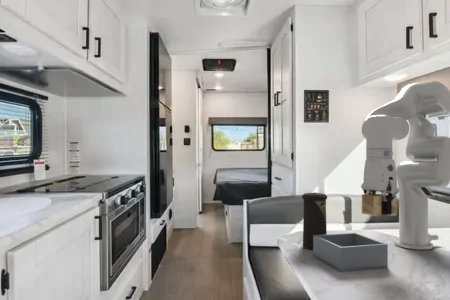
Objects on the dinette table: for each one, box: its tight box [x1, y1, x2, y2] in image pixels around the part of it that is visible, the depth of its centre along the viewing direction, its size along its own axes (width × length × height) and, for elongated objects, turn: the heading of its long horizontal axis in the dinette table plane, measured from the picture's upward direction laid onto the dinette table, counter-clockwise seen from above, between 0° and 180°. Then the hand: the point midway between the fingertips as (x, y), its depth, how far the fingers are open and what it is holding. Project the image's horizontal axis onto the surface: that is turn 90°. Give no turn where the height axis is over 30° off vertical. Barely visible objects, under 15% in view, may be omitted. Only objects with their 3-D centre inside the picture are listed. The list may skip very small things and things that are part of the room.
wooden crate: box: [361, 193, 398, 217], centre depth 110 cm, size 8×6×6 cm
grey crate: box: [312, 232, 389, 273], centre depth 111 cm, size 16×16×7 cm
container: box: [301, 192, 328, 251], centre depth 128 cm, size 9×9×20 cm
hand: (378, 212), depth 110 cm, fingers closed on wooden crate, 6 cm apart
